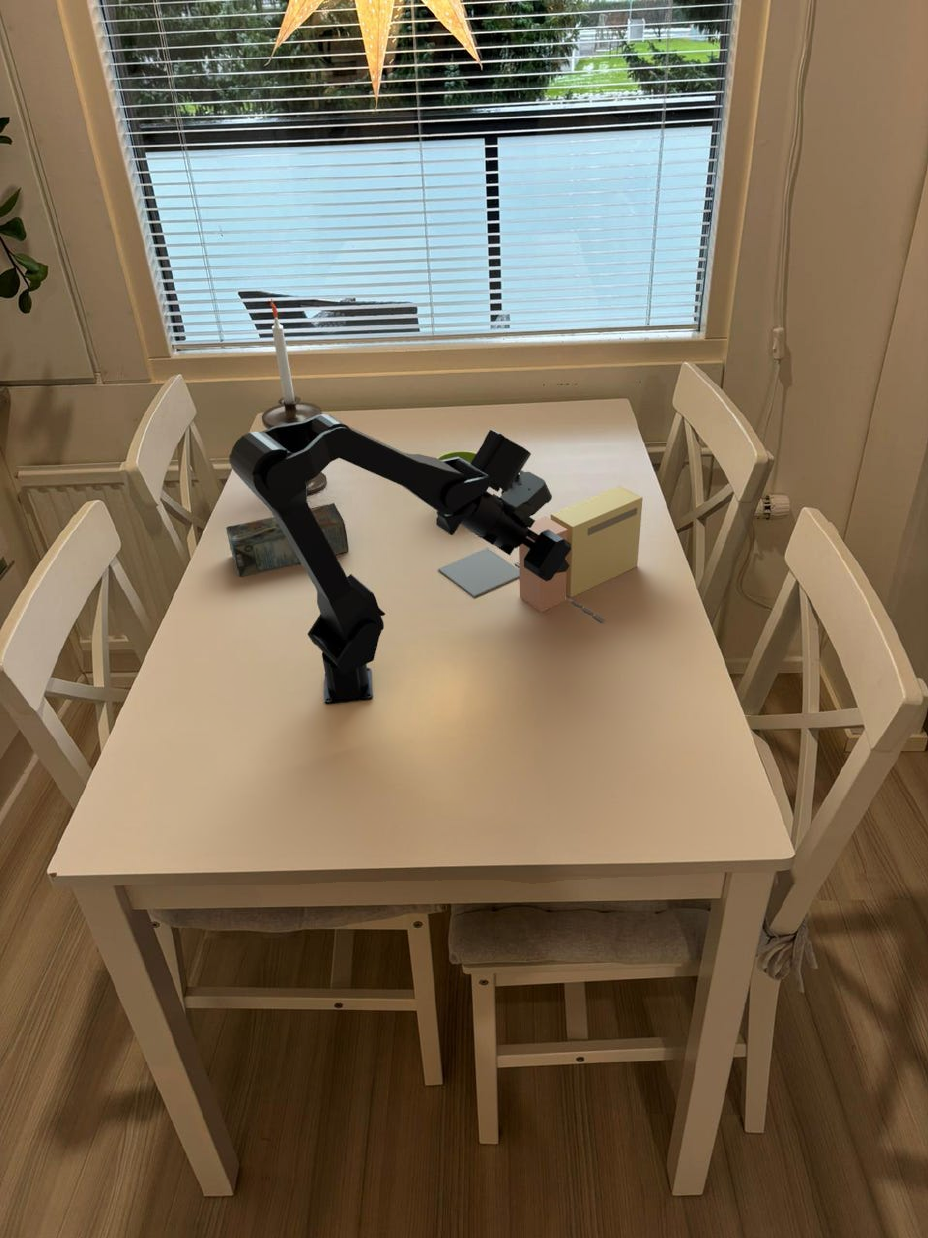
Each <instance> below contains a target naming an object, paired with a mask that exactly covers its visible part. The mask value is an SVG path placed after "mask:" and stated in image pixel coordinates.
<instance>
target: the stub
mask: <svg viewBox="0 0 928 1238" xmlns="http://www.w3.org/2000/svg"><path fill="white" fill-rule="evenodd" d="M534 520H535V519H534ZM528 529H530V530H532V531H533V532H535V533H537V534H538V535H540V533H541V532H543V531H545V530H548V529H549V530H550V531H552V532H553V533H555V534H557V535H558V536H560V537H562V538H563V539H565V540H566V541H567V529H566V528H564V527H562V526H561V525H559V524H557V523H556V522H554V521H552V520H551V518H549V517H548V516H543V517H540V518H539V519H538V518H537V519H536V520H535V522H534V524H533V525H532V527H531V528H529V527H528ZM526 538H528V539H529V540H531V541H532V542H535V541H534V540H532V539H531V538H529V537H528V536H526ZM518 548H519V549H518V551H519V553H518V555H519V557H518V559H519V561H518V563H519V567H518V569H519V570H520V577H519V598H520V599H521V600H522V601H524V602H525V603H527V604H528V605H530V606H531V607H532V608H534V609H535V610H537V611H538V612H539V613H541V612H543V611H546V610H547V609H550V608H551V607H554V606H556V605H559V604H560V603H563V602H564V601H566V599H567V595H566V572H561V573H555V575H554V576H553V578H552V579H551V580H549V581H545V580H543V579H541V578H540V577H538V576H537V575H535V574H534V573H532V572H531V571H529V570H528V569H526V568H525V567H524V558H525V556H526V555H527V553H528V552H529V550H530V548H528V547H527V546H525V545H524V544H521V545H520V546H519V547H518ZM565 559H566V561H567V556H566V558H565Z"/></svg>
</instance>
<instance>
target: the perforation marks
mask: <svg viewBox="0 0 928 1238" xmlns="http://www.w3.org/2000/svg"><path fill="white" fill-rule="evenodd" d="M514 566H517V568H519V561H517V562H515V563H514ZM570 602H571V604H572V605H574V606H575V607H577V608H578V609H579V608H581V607H582V609H581V610H582V611H583V612H584V613H586V614H588V615H589V616H592V615H593V614H594V612H593V611H591V610H590V609H589V608H586V607H583V604H581V603H579V602H577V600H575V599H573V600H571V601H570ZM592 618H594V619H595V620H596V621H598V622H599V623H601V624H603V623H605V619H604V618H602V617H601V616H599V615H597V614H596V615H593V617H592Z"/></svg>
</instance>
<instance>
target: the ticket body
mask: <svg viewBox="0 0 928 1238" xmlns="http://www.w3.org/2000/svg"><path fill="white" fill-rule="evenodd" d="M642 508H643V496H641V495H639V494H638V493H635V492H633V491H632V490H629V488H626V487H624V486H622V485H618V486H614V487H613V488H610V489H608V490H606V491H603V492H601V493H598V494H596V495H594V496H591V497H589V498H586V499H584V500H581V501H579V502H576V503H574V504H572V505H570V506H567V507H565V508H562V509H560V510H558V511H557V510H556V511H554V512H553V513H550V519H551V520H552V521H554V522H556V523H557V524H559V525H561V526H562V527H564V528H566V529H567V541H568V542H569V543H571V550H570V552H569V553H568V555H567V562H568V564H569V568H568V569H567V571H566V596H568V597H569V598H573V597H575V596H577V595H579V594H582V593H584V592H586V591H587V590H590V589H592V588H594V587H596V586H599V585H601V584H602V583H605V582H607V581H609V580H612V579H613V578H616V577H618V576H620V575H622V574H624V573H626V572H628V571H630V570H632V569H634V568H637V567H638V561H639V552H640V551H639V549H640V534H641V521H642V511H643V509H642Z"/></svg>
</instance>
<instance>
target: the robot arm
mask: <svg viewBox="0 0 928 1238" xmlns="http://www.w3.org/2000/svg"><path fill="white" fill-rule="evenodd" d="M295 452H297V453H295ZM292 453H294V454H292ZM476 453H477V454H476V455H475V457H474V458H473V460H472V462H471V463H468V462H467V461H465V460H463V459H462V458H460V457H455V458H450V459H445V460H439V459H437V457H433V456H429V455H424V454H419V453H416V454H414V453H408V452H404V451H401V450H400V449H398V448H396V447H393V446H391V445H389V444H386V443H385V442H383V441H380V440H379V439H376V438H374V437H372V436H370V435H368V434H366V433H364V432H362V431H360V430H357V429H355V428H353V427H352V426H350V425H347V424H345V423H343V422H342V421H341V420H339V419H338V418H336V417H334V416H332V415H331V414H327V413H322V414H321V415H316V416H314V417H312V418H309V419H307V420H305V421H301V422H295V423H289V424H284V425H278V426H274V427H271V428H269V429H267V428H266V429H265V430H262V431H250V432H248V433H246V434H244V435H242V436H241V437H240V438H239V439H237V440H236V442H235V443H234V445H233V447H232V449H231V451H230V454H229V456H228V457H229V464H230V466H231V469H232V471H233V472H234V473H235V474H236V475H237V476H238V478H239V479H240V480H241V481H242V482H243V483H244V484H245V486H247V488H248V489H250V491H251V492H252V493H253V494H254V495H255V496H256V497H257V498H258V499H259V500H260V501H261V502H262V503H263V504H264V505H265V506H266V507H267V508H268V509H269V511H270V512H271V514H272V515H273V516H272V517H275V519H276V521H277V522H278V524H279V526H280V528H281V529H282V531H283V533H284V534H285V536H286V538H287V540H288V541H289V543H290V545H291V546H292V548H293V550H294V552H295V553H296V555H297V557H298V558H299V560H300V562H301V563H300V564H301V565H302V567H303V569H304V570H305V572H306V574H307V576H308V577H309V579H310V581H311V583H312V584H313V586H314V587H315V590H316V594H317V595H316V604H317V607H318V611H319V616H318V617H317V619H316V620H315V621H314V623H313V625H312V626H311V628H310V629H309V631H308V632H307V636H308V638H309V639H310V640H311V642H312V643H313V644H314V645H315V646H317V648H318V649H320V652H321V658H322V664H323V669H324V687H323V688H324V690H323V691H324V695H323V696H324V698H323V699H324V700H323V701H324V704H326V705H334V704H342V703H343V704H344V703H352V702H361V701H362V702H363V701H370V700H372V699H373V698H374V692H373V691H374V690H373V674H372V673H373V672H372V668H371V667H368V666H367V665H368V664H369V663H372V662H373V661H374V660H375V656H376V652H377V648H378V644H379V641H380V640H379V639H380V636H381V633H382V631H383V630H384V627H385V625H384V624H385V623H384V621H383V618H382V617H384V616H385V615H386V613H385V612H384V611H383V610H382V609H381V608H379V605H378V601H377V599H376V595H375V593H374V592H373V591H372V590H370V589H369V587H367V586H366V585H365V584H363V582H361V581H360V580H359V579H358V578H357V577H356V576H354V575H353V573H350V574H348V576H347V573H346V572H345V570H344V568H343V567H342V564H341V563H340V561H339V559H338V558H337V554H334V552H333V550H332V548H331V546H330V544H329V542H328V541H327V539H326V537H325V535H324V533H323V531H322V529H321V528H320V526H319V524H318V522H317V520H316V518H315V517H314V515H313V513H312V511H311V509H310V508H311V507H310V505H309V503H308V495H307V485H306V482H307V481H309V480H311V479H313V478H315V477H316V476H317V475H318V474H319V473H320V472H322V471H323V470H325V469H326V467H327V466H328V465H330V463H332V462H333V461H336V460H338V459H341V460H343V461H345V462H347V463H349V464H352V465H354V466H356V467H358V468H359V467H360V468H362V469H363V470H366V471H368V472H370V473H372V474H374V475H377V476H379V477H381V478H384V479H386V480H388V481H390V482H392V483H395V484H397V485H400V486H402V487H403V488H404V489H406V490H407V491H408V492H410V493H411V494H412V495H413V496H415V497H417V498H418V499H419V500H421V501H422V502H424V503H425V504H427V505H428V506H429V507H431V508H432V509H434V510H435V511H436V515H437V516H436V519H435V521H436V522H435V524H436V526H437V527H438V528H440V529H441V530H443V531H445V533H447V534H448V535H450V536H453V535H454V534H455V533H456V531H457V530H458V528H459V527H460V526H462V527H464V528H465V529H467V530H468V531H470V532H471V533H473V534H474V535H475V536H477V537H479V538H480V539H482V540H484V541H485V542H488V543H489V544H491V545H492V546H495V547H496V548H497V549H499V550H500V551H502V552H504V553H505V554H507V555H508V556H511V555H512V553H513V552H514V549H518V548H519V546H520V545H521V544H524V545H525V546H527V547H528V548H530V550H529V552H528V553H527V555H526V556H525V558H524V567H525V568H526V569H528V570H529V571H531V572H532V573H534V574H535V575H537V576H538V577H540V578H541V579H543V580H545V581H549V580H551V579H552V578H553V576H554V575H555V573H561V572H566V571H567V569H568V568H569V564H568V562H567V561H566V559H565V558H566V556H567V555H568V553H569V552H570V550H571V543H569V542H568V541H566V540H565V539H563V538H562V537H560V536H558V535H557V534H555V533H553V532H552V531H550V530H549V529H548V530H545V531H543V532H541V533H540V535H538V534H537V533H535V532H533V531H532V530H530V529H528V527H529V528H531V527H532V525H533V524H534V522H535V519H534V518H532V516H533V515H535V514H536V513H538V512H539V511H540V510H541V509H542V508H543V507H544V506H545V505H546V504H549V503H550V502H551V500H552V499H553V495H552V493H551V492H550V489H549V487H548V485H547V483H546V480H545V479H543V478H542V477H539V476H538V475H536V474H534V473H533V472H531V471H524V470H522V469H523V467H524V466H525V464H526V463H527V461H528V460H529V459H530V457H531V456H532V453H531V452H530V451H529V450H528V449H526V447H525V448H524V446H522V445H520V444H518V443H516V442H514V441H512V440H510V439H508V438H507V437H505V435H503V434H501V433H500V432H498V431H496V430H494V429H493V428H491V429H490V430H489V431H488V433H487V434H486V436H485V438H484V441H483V442H482V445H481V446H480V447H479V449H478V450H477V451H476ZM489 488H490V489H492V490H493V491H495V492H496V493H498V492H499V491H500V489H501V492H500V493H501V495H500V496H498V495H496V494H495V493H493V494H492V493H490V492H489V491H488V489H489ZM526 536H528V537H529V538H531V539H532V540H534V541H535V542H532V541H531V540H529V539H528V538H526Z"/></svg>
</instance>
